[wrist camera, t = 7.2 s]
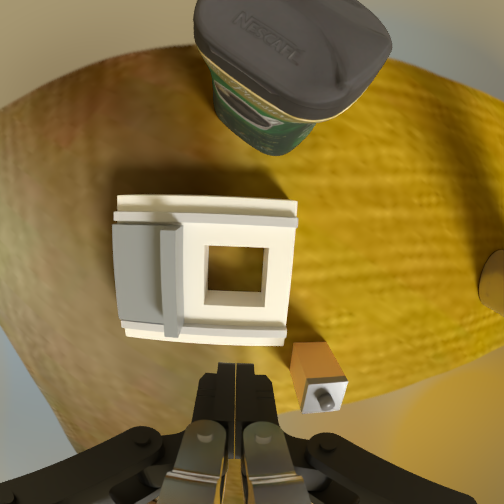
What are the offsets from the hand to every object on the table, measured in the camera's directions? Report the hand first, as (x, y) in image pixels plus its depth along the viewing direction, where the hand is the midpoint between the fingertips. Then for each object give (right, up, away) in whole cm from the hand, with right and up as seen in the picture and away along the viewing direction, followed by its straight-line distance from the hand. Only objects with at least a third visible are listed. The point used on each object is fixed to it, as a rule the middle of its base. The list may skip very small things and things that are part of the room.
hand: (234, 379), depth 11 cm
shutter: (-9, +3, +13) cm, 16 cm away
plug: (+7, -7, +21) cm, 23 cm away
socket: (-4, +4, +18) cm, 19 cm away
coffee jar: (+2, +20, +15) cm, 25 cm away
